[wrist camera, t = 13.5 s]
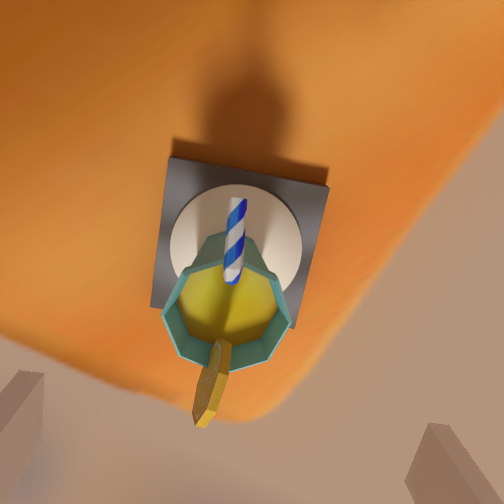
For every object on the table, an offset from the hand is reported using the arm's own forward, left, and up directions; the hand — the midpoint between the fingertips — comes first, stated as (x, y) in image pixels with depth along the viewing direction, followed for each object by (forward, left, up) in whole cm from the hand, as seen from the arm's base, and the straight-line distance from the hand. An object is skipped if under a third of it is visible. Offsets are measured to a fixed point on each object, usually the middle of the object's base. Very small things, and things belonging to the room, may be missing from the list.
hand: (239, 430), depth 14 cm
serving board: (0, 0, -22) cm, 22 cm away
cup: (0, 0, -21) cm, 21 cm away
